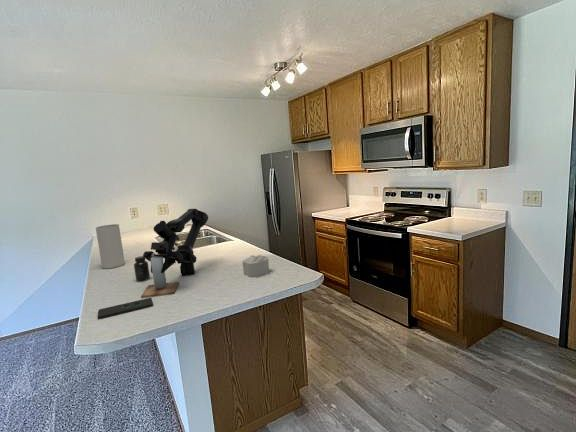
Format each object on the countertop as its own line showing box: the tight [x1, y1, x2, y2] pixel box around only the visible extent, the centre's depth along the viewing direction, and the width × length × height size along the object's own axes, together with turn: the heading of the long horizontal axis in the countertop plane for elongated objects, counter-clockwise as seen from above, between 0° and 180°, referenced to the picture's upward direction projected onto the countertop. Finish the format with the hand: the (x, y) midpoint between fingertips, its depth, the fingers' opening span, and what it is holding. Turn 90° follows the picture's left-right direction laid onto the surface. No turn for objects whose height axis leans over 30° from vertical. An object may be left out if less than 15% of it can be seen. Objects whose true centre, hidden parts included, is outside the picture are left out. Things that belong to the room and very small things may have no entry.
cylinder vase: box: [95, 223, 126, 270], centre depth 198 cm, size 12×12×25 cm
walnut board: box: [140, 281, 180, 299], centre depth 151 cm, size 14×14×1 cm
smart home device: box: [97, 297, 154, 320], centre depth 132 cm, size 8×2×20 cm
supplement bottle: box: [133, 255, 151, 282], centre depth 169 cm, size 7×7×12 cm
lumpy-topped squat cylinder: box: [242, 254, 270, 278], centre depth 166 cm, size 10×13×9 cm
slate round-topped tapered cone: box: [150, 256, 167, 289], centre depth 150 cm, size 5×5×14 cm
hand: (156, 272), depth 149 cm, fingers closed on slate round-topped tapered cone, 5 cm apart
